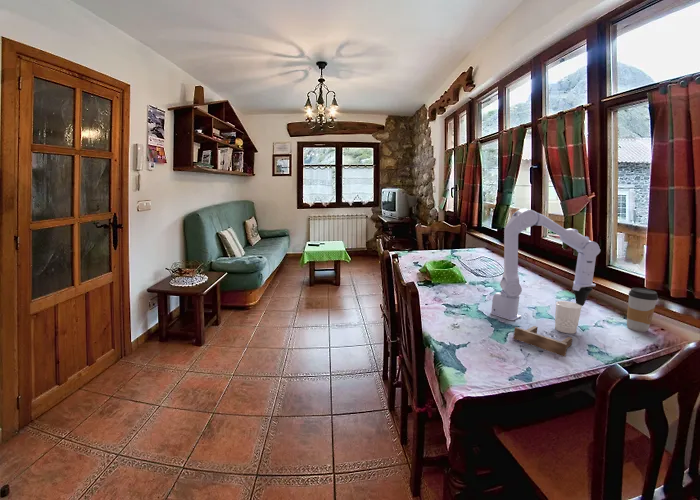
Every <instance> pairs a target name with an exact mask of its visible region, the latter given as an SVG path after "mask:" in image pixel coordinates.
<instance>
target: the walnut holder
mask: <svg viewBox="0 0 700 500" xmlns="http://www.w3.org/2000/svg"><path fill="white" fill-rule="evenodd" d="M538 328H539V327H538V326H536V325H533V326H532V327H529V328H527V329H524V328H520V327H517V326H515V327H514V330H513V339H514V340H517V341H519V342H523V343H525V344H528V345H530V346H533V347H535V348H539V349H542V350H544V351H546V352H547V351H548V352H550V353H553V354H555V355H557V356H558V355H559V356H562V357H566V356H567V350H568V349H567V348H569V347H571V346H572V344H573V337H572V336H567V337H566V338H564V339H563V340H561V341H560V340H557V339H554V338H551V337H549V336H545V335H542V334H539V333H538Z"/></svg>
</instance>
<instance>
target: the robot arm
mask: <svg viewBox="0 0 700 500" xmlns="http://www.w3.org/2000/svg"><path fill="white" fill-rule="evenodd" d="M533 226H541V227H544V228H546V229H547V230H549V231H551V232H553V233H554V234H556V235H557V236H559V239H560V241H561V242H562V243H563V244H566V245H567V246H569V247H570V248H572V249H573V250H576V252H577V259H576V265H575V273H574V274H575V275H574V280H573V285H572V287H571V288H572V291H573V293H574V296H575V303H576V304H579V305H581V306H582V307H583V306H584V305H585V303H586V301H587V299H588V296H589V295H590V293H591V292H592V291H593V287H596V283H593V279H594V272H595V268H596V267H595V266H596V259H597V256H598V255H599V254H600V253H601V249H602V248H601V249H600V246H599V244H598V243H597V242H596V241H593V240H590V237H589V236H587V235H586V236H585V235H583V234H581V233H579V230H578V229H576V228H571V227H570V228H564V227H563V226H562V225H560V224H558V223H557V222H555V221H554V220H552V219H551V218H549V217H547V216H546V215H544V214H542V213H540V212H537V211H535V210H533V209H527V208H520V209H518V210H516V211H515V212H514V213H512V215H511V218H510V219H509V220H508V222H507V224H506V225H505V226H504V229H503V232H504V233H503V235H504V236H503V237H504V238H503V243H504V244H503V245H504V246H503V247H504V248H503V249H504V253H503V266H504V267H503V273H502V278H501V280H500V283H499V286H500V288H501V291H500V292H498V291H497V292H495V293H494V294H493V297H492V303H491V312H490V313H489V314H490V315H493V316H497V317H499V318H502V319H506V320H509V321H512V322H513V321H514V320H515V321H516V320H517V319H519V318H521V317H522V315H521V314H519V304H520V297H521V296H520V295H521V294H522V290H523V289H522V286H521V284H520V277H519V269H518V268H519V234H520V233H522V232H524V230H525V229H528V228H531V227H533Z"/></svg>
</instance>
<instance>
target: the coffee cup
mask: <svg viewBox="0 0 700 500" xmlns="http://www.w3.org/2000/svg"><path fill="white" fill-rule="evenodd" d="M658 297H659V296H658V292H657V291H655V290H651V289H649V288H641V287H632V288H631V289H630V290H629V292H628V302H627V313H626V326H627V327H626V328H628V329H629V330H632V331H636V332H642V333H646V332H648V331H649V330H650V325H651V323H652V319H653V316H654V312H655V308H656V304H657V301H658V300H659V298H658Z"/></svg>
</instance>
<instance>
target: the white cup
mask: <svg viewBox="0 0 700 500" xmlns="http://www.w3.org/2000/svg"><path fill="white" fill-rule="evenodd" d="M582 307H583V306H581V305H579V304H576V302H573V301H567V300H559V301H556V302H555V314H554V315H555V316H554V317H555V318H554V319H555V320H554V329H555V330H556V331H558V332H561V333H565V334H568V335H569V334H575V333H576V332H577V328H578V325H579V322H580V318H581V317H580V316H581V311H582Z"/></svg>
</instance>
